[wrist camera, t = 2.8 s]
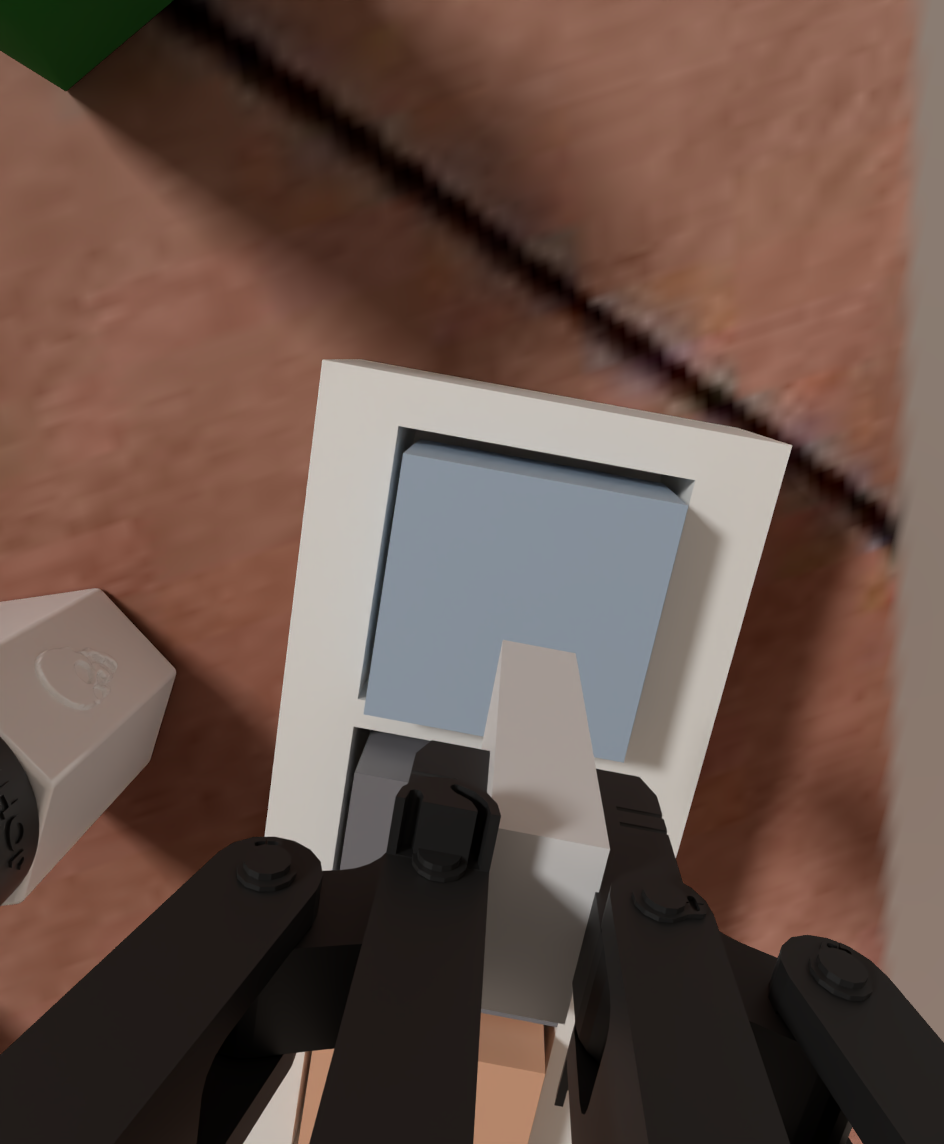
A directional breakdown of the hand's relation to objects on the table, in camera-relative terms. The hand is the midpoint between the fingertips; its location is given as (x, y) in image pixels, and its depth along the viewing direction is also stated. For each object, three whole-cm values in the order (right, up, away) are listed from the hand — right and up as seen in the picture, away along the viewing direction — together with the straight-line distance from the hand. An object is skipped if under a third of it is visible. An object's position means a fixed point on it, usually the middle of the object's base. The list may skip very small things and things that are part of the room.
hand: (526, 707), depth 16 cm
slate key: (0, +3, +11) cm, 11 cm away
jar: (-18, -2, +17) cm, 25 cm away
